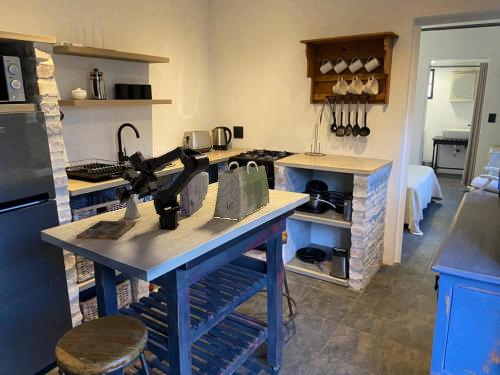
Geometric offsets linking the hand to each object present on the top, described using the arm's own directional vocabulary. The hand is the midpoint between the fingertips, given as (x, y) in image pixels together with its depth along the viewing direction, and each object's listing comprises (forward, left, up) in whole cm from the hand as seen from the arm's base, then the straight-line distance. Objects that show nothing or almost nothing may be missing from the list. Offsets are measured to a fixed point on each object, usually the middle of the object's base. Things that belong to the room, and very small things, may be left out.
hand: (129, 201), depth 163 cm
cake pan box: (-25, -11, -7) cm, 28 cm away
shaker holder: (+1, +20, -7) cm, 21 cm away
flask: (-1, +1, -7) cm, 7 cm away
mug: (-22, -34, -7) cm, 41 cm away
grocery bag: (-48, -14, -7) cm, 51 cm away
